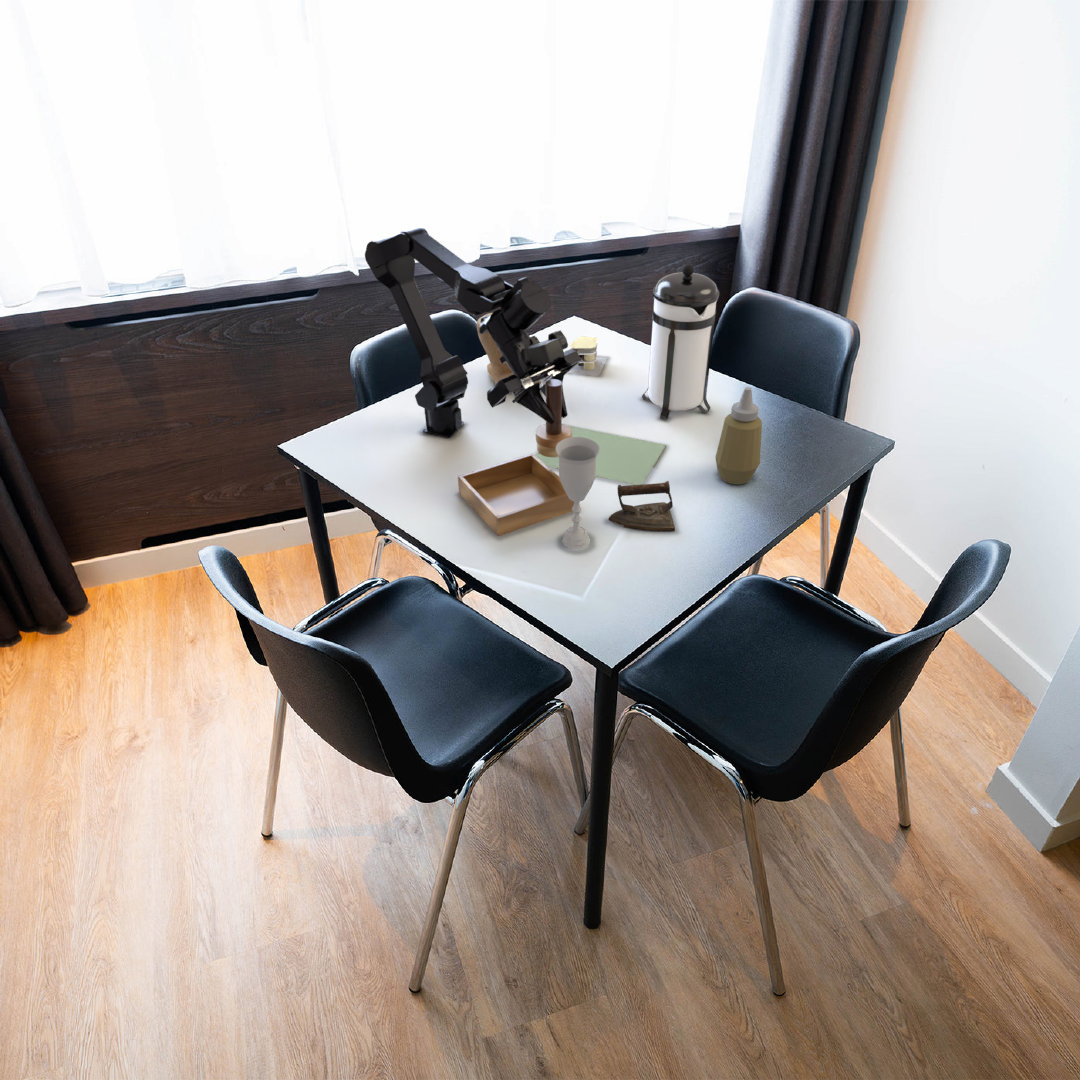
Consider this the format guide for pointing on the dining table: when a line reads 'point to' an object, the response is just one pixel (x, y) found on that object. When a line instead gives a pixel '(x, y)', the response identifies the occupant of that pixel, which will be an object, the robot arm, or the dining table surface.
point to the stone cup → (494, 356)
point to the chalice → (577, 482)
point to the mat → (617, 456)
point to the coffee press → (681, 341)
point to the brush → (557, 431)
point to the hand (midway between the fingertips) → (559, 419)
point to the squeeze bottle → (740, 442)
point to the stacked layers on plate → (587, 357)
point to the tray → (515, 494)
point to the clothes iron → (645, 509)
